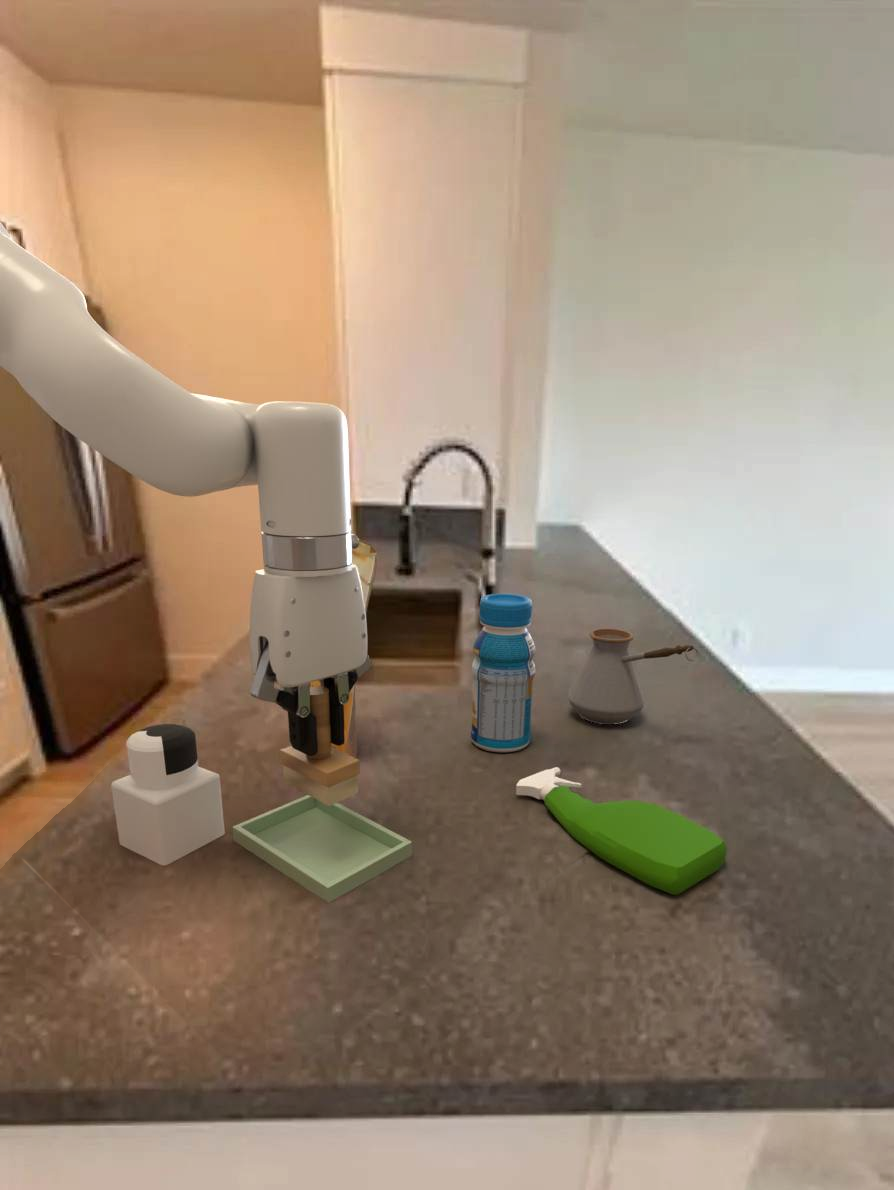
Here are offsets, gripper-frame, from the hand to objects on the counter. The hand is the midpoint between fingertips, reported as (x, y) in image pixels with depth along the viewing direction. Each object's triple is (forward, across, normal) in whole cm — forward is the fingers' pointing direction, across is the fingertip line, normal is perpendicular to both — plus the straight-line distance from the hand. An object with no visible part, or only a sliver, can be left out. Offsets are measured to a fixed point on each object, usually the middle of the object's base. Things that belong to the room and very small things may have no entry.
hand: (318, 744), depth 69 cm
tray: (+12, 0, 0) cm, 12 cm away
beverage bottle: (+12, -33, -4) cm, 35 cm away
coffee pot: (+12, -50, +6) cm, 52 cm away
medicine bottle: (+12, +9, -12) cm, 19 cm away
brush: (+5, 0, 0) cm, 5 cm away
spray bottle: (+12, -23, +19) cm, 32 cm away
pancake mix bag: (+12, -17, -20) cm, 29 cm away
